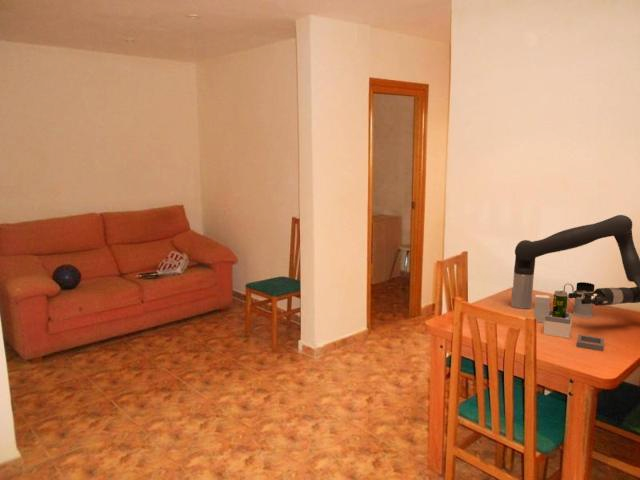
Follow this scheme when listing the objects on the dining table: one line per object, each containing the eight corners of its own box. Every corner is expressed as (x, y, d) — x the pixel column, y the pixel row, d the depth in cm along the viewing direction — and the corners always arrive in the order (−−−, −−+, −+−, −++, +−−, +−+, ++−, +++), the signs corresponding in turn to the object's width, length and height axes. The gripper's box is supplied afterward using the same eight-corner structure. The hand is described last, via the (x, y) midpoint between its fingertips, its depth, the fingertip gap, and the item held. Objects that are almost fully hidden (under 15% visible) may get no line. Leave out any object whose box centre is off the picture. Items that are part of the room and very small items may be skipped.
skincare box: (547, 320, 241) (549, 295, 239) (548, 323, 237) (550, 298, 235) (533, 319, 243) (535, 294, 241) (533, 322, 239) (535, 296, 237)
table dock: (576, 346, 210) (577, 342, 210) (578, 339, 218) (578, 334, 218) (603, 351, 205) (603, 346, 205) (603, 343, 214) (604, 338, 213)
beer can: (554, 316, 228) (556, 289, 226) (567, 318, 225) (569, 292, 223) (550, 319, 224) (552, 292, 222) (563, 322, 221) (565, 294, 219)
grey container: (588, 319, 242) (591, 288, 239) (558, 311, 253) (560, 281, 250) (596, 315, 248) (599, 284, 245) (566, 308, 258) (568, 278, 256)
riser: (543, 334, 224) (545, 316, 222) (546, 326, 232) (547, 309, 231) (569, 338, 219) (570, 320, 217) (570, 330, 228) (572, 313, 226)
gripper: (597, 283, 233) (565, 285, 230) (621, 292, 220) (587, 295, 217) (595, 299, 235) (563, 302, 232) (619, 309, 221) (585, 312, 218)
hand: (575, 298), depth 224 cm, fingers open, 8 cm apart
